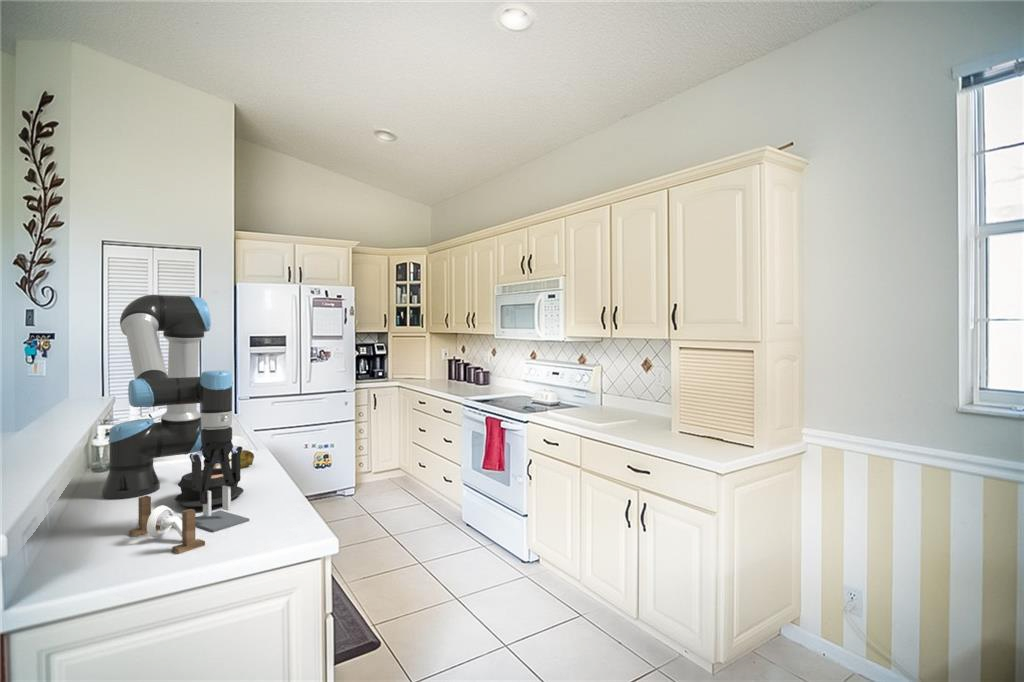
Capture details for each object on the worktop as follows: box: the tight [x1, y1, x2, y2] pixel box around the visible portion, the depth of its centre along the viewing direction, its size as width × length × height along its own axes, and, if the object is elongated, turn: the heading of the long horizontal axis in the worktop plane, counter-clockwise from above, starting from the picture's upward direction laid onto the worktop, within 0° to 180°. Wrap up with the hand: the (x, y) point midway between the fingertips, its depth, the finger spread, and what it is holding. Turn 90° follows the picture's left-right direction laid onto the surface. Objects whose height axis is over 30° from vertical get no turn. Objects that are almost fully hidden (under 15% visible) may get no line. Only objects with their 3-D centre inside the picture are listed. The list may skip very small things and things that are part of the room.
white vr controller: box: [147, 504, 182, 538], centre depth 132 cm, size 8×12×7 cm
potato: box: [240, 449, 255, 470], centre depth 198 cm, size 8×13×8 cm, turn 117°
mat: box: [195, 509, 250, 533], centre depth 145 cm, size 14×10×1 cm
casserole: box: [174, 468, 245, 508], centre depth 165 cm, size 25×19×8 cm
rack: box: [128, 495, 206, 555], centre depth 132 cm, size 24×6×9 cm, turn 59°
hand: (217, 512), depth 145 cm, fingers open, 5 cm apart
